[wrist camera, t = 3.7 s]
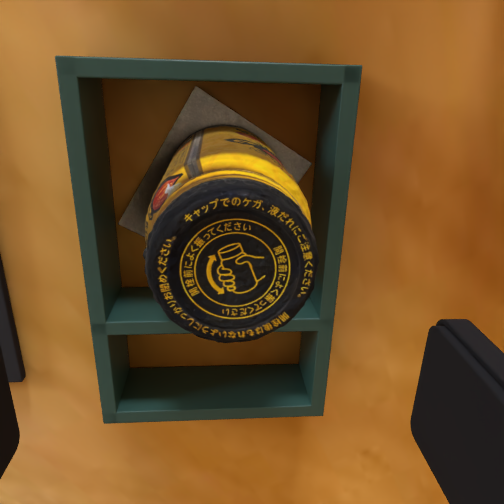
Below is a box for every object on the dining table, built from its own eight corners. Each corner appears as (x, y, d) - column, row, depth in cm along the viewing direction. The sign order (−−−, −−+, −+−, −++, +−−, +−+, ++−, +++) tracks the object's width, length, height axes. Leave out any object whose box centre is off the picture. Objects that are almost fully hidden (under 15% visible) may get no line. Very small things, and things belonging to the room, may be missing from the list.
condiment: (311, 162, 24) (395, 238, 12) (229, 282, 26) (239, 435, 15) (195, 85, 22) (173, 93, 11) (119, 221, 24) (34, 346, 13)
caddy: (83, 59, 21) (54, 55, 17) (337, 67, 22) (362, 65, 18) (118, 378, 28) (103, 424, 24) (309, 372, 29) (323, 416, 25)
